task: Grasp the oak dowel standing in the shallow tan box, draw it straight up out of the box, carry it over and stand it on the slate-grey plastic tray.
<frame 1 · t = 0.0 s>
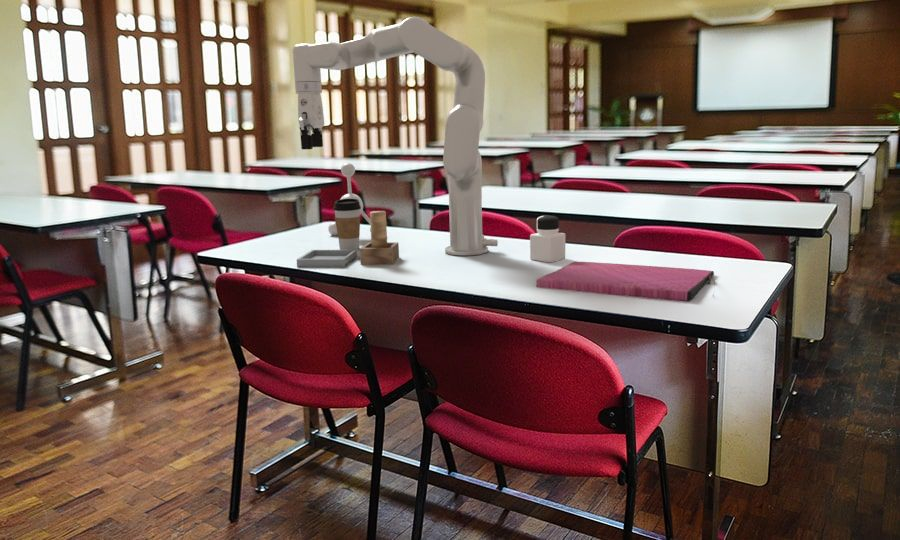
hand: (312, 148, 227), 31 cm above the table, fingers open, 9 cm apart
maroon flat block: (633, 284, 186), on the table
molecular model: (351, 239, 255), on the table
coffee cup: (349, 249, 238), on the table
dowel: (379, 236, 217), in the shallow tan box
medicine bottle: (547, 259, 214), on the table
shallow tan box: (380, 261, 218), on the table
tray: (328, 261, 220), on the table
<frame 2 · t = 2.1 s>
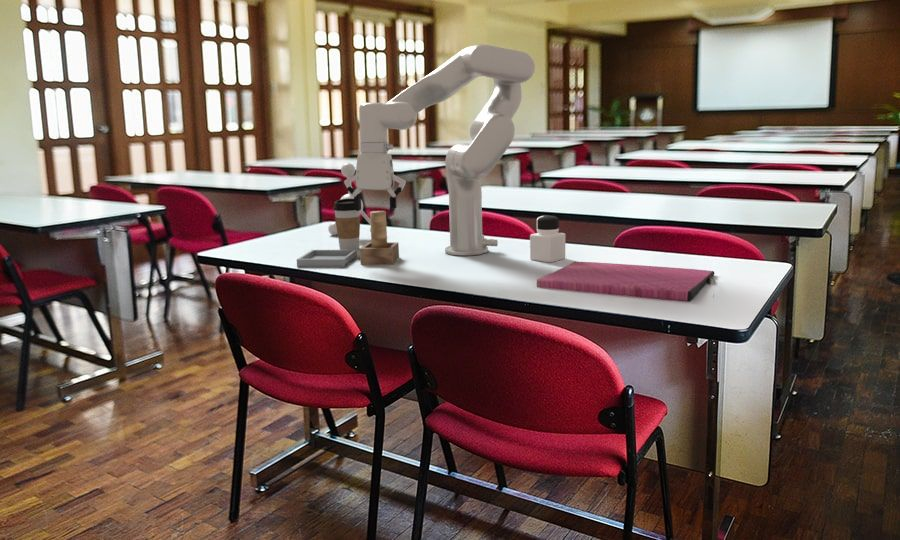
hand: (375, 210, 215), 14 cm above the table, fingers open, 9 cm apart
nothing on the table moved.
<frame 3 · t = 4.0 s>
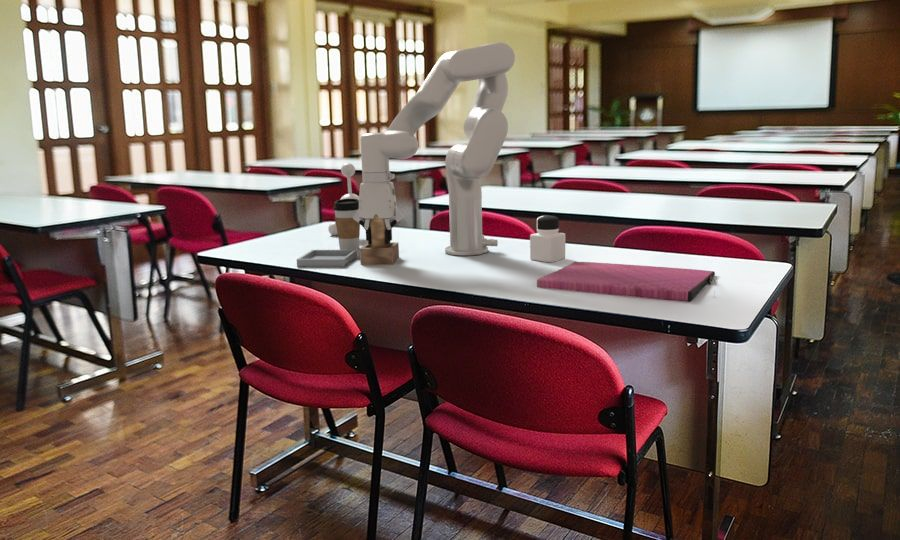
hand: (379, 242, 217), 5 cm above the table, fingers closed on dowel, 4 cm apart
dowel: (379, 236, 217), in the shallow tan box, touching gripper
everything else where it was.
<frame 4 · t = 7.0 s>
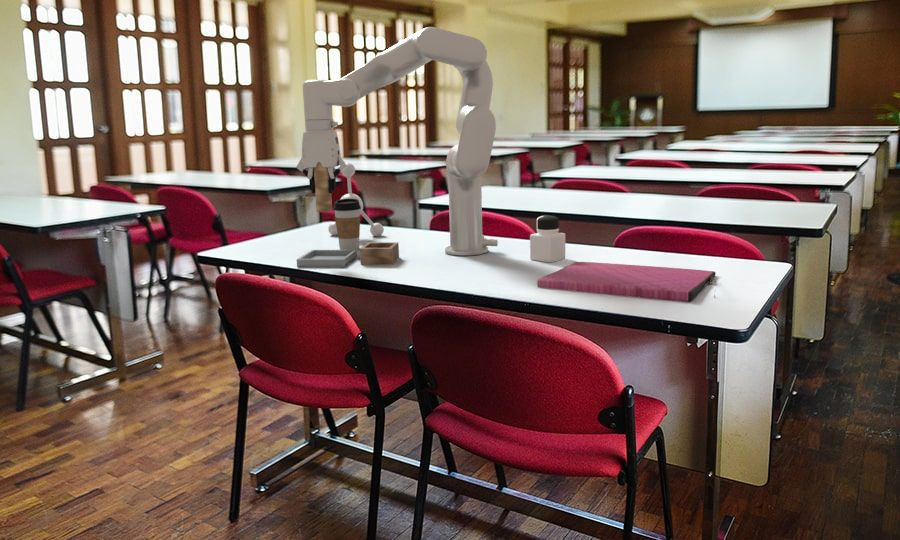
hand: (323, 192, 215), 20 cm above the table, fingers closed on dowel, 4 cm apart
dowel: (322, 186, 215), point 22 cm above the table, touching gripper
everything else where it was.
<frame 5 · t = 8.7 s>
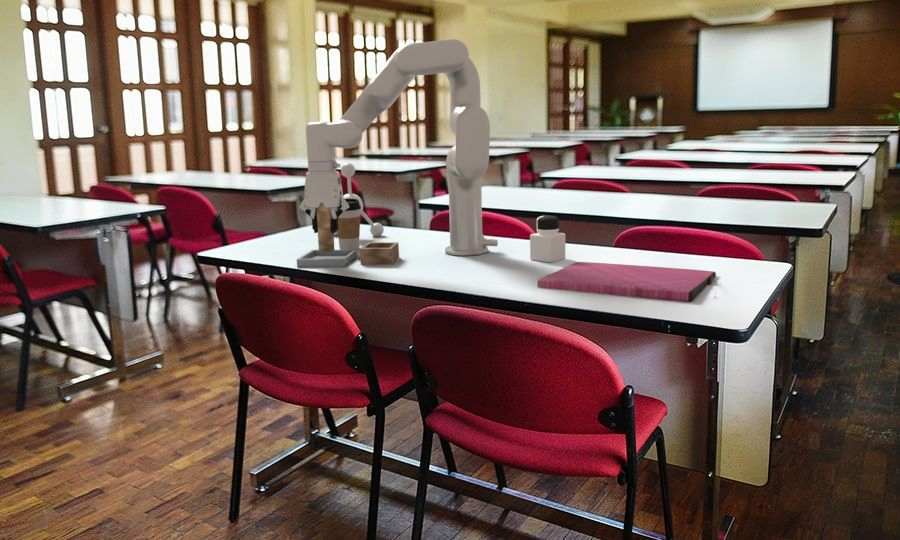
hand: (325, 231, 218), 9 cm above the table, fingers closed on dowel, 4 cm apart
dowel: (325, 225, 217), point 10 cm above the table, touching gripper
everything else where it was.
when the fingers open (7 cm above the table, at t = 10.0 s): dowel stays where it is, resting on tray.
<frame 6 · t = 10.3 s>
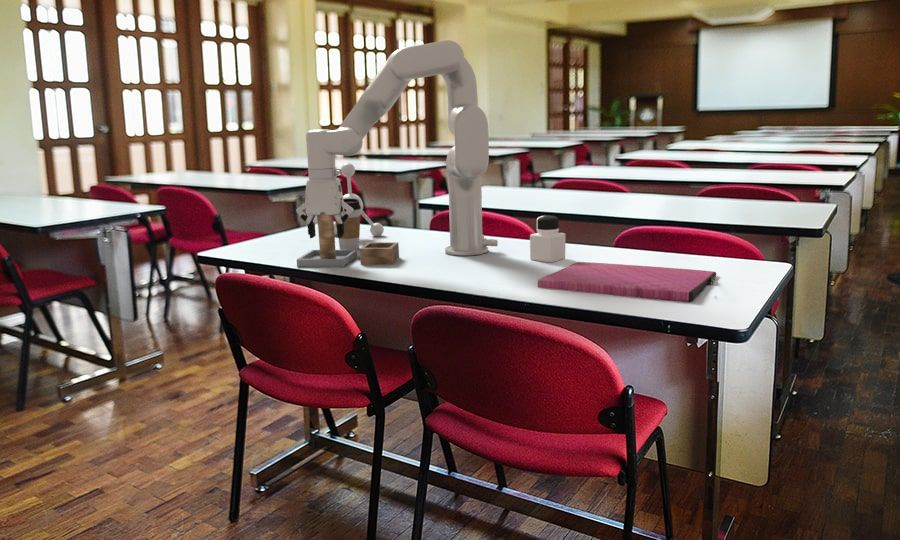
hand: (326, 236, 218), 7 cm above the table, fingers open, 7 cm apart
dowel: (326, 235, 218), in the tray, point 8 cm above the table
everything else where it was.
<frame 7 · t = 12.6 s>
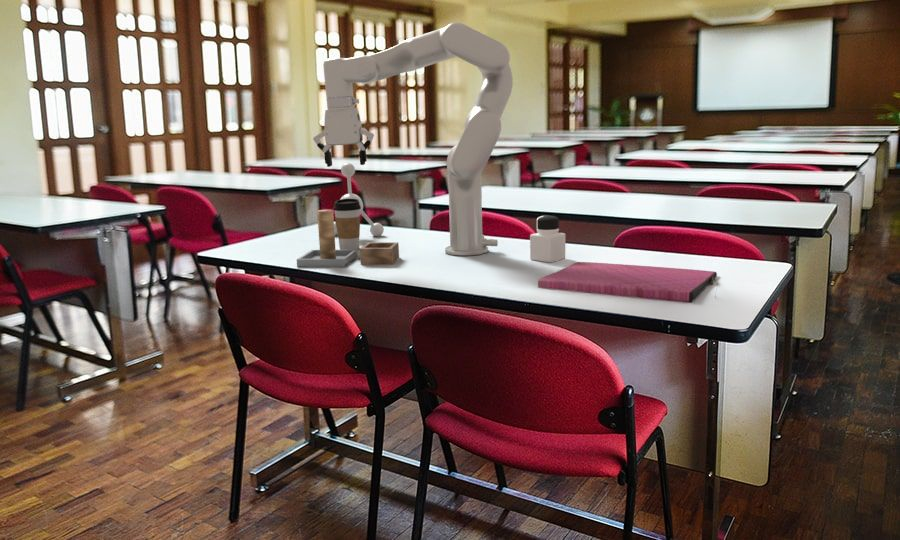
hand: (346, 165, 219), 27 cm above the table, fingers open, 9 cm apart
nothing on the table moved.
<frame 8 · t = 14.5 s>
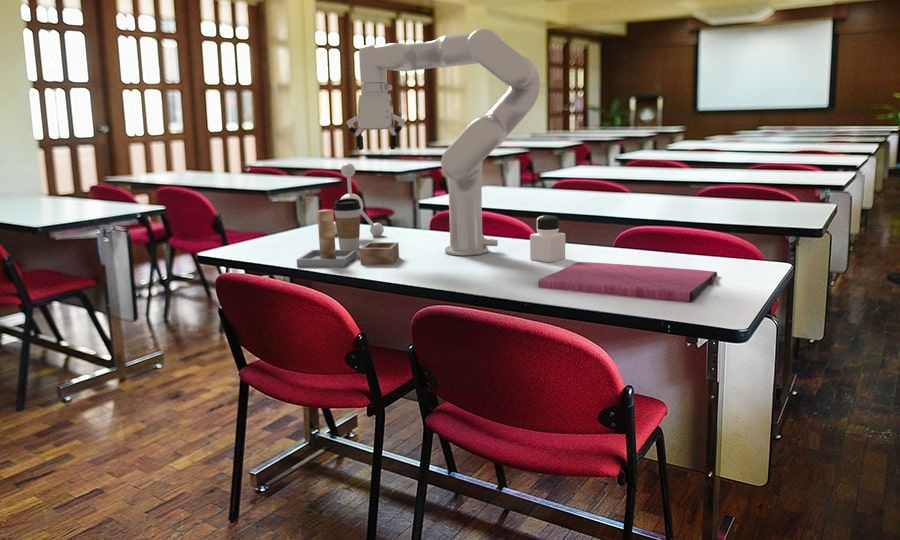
hand: (377, 149, 227), 30 cm above the table, fingers open, 9 cm apart
nothing on the table moved.
at the end: dowel inside the target area on the tray (0.1 cm from its centre), point 7.6 cm above the tray's base; dowel tilted 0°; the gripper is holding nothing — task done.
